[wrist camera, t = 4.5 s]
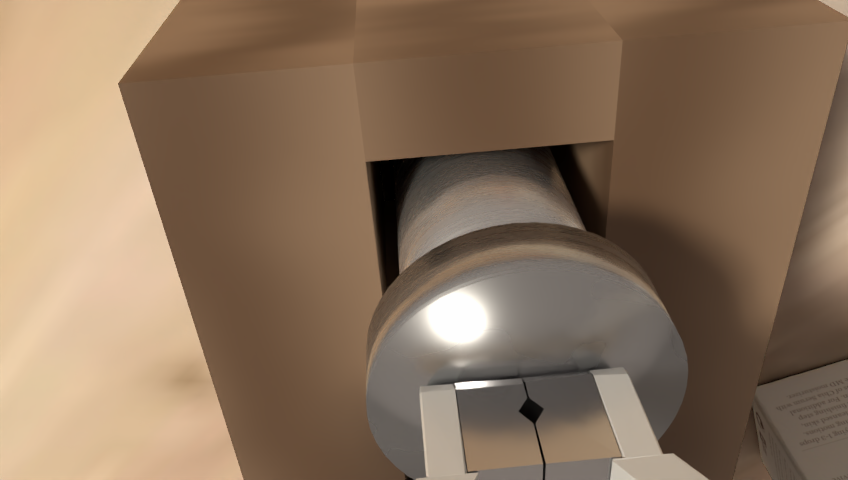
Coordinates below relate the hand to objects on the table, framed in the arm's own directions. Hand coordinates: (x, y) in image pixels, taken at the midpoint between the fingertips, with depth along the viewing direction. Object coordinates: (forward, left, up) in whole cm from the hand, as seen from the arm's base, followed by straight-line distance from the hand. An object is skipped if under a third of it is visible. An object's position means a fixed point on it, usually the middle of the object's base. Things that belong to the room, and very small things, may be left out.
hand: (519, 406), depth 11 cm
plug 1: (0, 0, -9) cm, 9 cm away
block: (0, +8, -10) cm, 13 cm away
